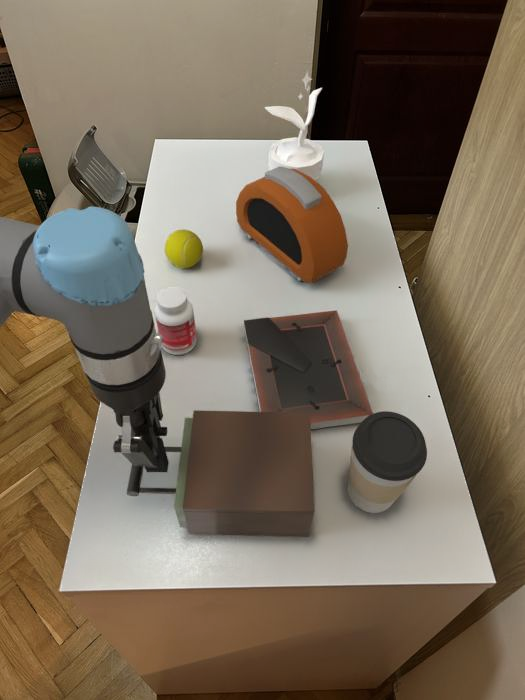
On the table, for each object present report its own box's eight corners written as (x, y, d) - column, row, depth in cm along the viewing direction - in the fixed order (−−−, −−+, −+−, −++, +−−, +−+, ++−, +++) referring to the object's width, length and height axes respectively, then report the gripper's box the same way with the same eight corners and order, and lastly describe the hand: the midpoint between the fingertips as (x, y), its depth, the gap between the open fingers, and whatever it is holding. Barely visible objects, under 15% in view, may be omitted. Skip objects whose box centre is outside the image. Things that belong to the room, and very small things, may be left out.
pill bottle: (199, 352, 89) (194, 307, 81) (163, 359, 88) (153, 314, 80) (194, 325, 93) (188, 280, 84) (159, 331, 92) (149, 285, 83)
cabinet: (189, 534, 70) (182, 508, 63) (198, 441, 79) (193, 410, 72) (308, 537, 70) (314, 511, 63) (305, 444, 79) (310, 412, 72)
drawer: (128, 526, 70) (117, 505, 64) (143, 441, 78) (135, 416, 72) (290, 529, 70) (294, 509, 64) (289, 444, 78) (292, 419, 72)
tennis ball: (160, 264, 103) (154, 236, 97) (184, 246, 106) (180, 217, 101) (186, 280, 100) (183, 251, 95) (211, 260, 104) (208, 232, 98)
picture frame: (243, 329, 93) (264, 437, 79) (243, 320, 91) (264, 428, 77) (335, 318, 95) (370, 422, 81) (337, 309, 93) (373, 413, 79)
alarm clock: (234, 230, 110) (232, 156, 96) (268, 213, 113) (270, 140, 100) (310, 294, 98) (319, 220, 85) (345, 273, 102) (359, 200, 89)
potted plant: (317, 176, 122) (329, 63, 102) (321, 207, 115) (335, 91, 95) (262, 176, 122) (264, 62, 102) (263, 207, 114) (265, 91, 95)
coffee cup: (405, 466, 77) (432, 411, 65) (402, 527, 71) (432, 478, 59) (343, 454, 78) (359, 398, 66) (335, 513, 72) (351, 462, 61)
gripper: (150, 415, 48) (180, 515, 66) (169, 308, 56) (191, 424, 74) (67, 413, 48) (120, 514, 66) (97, 307, 56) (137, 423, 74)
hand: (157, 467), depth 70 cm, fingers closed
